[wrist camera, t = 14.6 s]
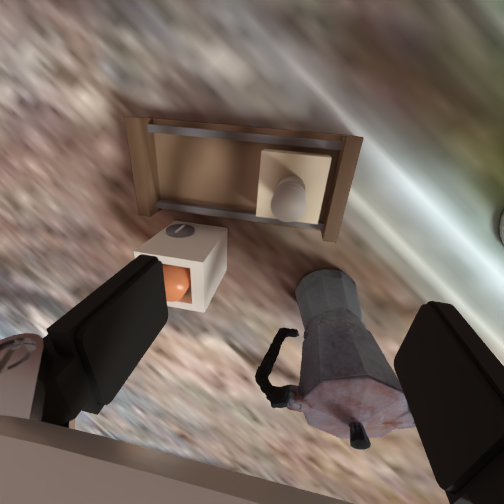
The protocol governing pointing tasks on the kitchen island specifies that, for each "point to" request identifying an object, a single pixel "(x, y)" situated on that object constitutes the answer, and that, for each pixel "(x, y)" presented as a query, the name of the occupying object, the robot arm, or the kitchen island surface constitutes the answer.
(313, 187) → the square knob plate
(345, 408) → the moka pot
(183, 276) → the brown egg
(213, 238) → the white knob block
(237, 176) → the rail bed
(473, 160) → the kitchen island surface
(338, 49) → the kitchen island surface
